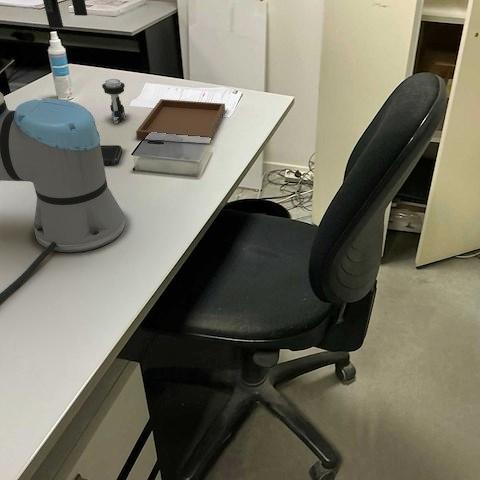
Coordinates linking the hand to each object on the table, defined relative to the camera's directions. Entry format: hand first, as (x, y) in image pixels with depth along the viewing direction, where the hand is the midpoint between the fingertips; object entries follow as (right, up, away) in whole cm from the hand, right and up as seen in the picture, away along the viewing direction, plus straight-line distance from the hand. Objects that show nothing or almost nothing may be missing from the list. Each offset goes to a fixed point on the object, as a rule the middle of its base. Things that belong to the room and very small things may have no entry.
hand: (69, 21), depth 124 cm
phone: (+4, -31, 0) cm, 31 cm away
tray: (+21, -19, +18) cm, 34 cm away
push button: (+4, -19, +18) cm, 26 cm away
